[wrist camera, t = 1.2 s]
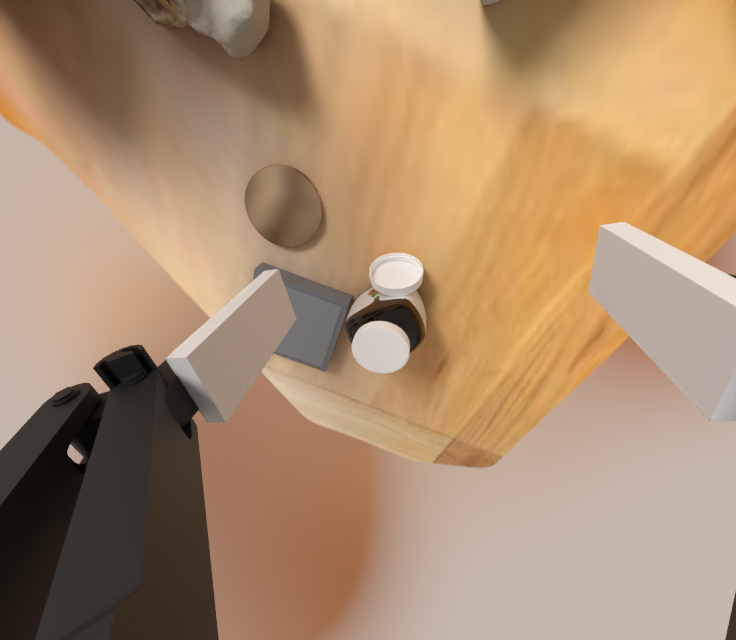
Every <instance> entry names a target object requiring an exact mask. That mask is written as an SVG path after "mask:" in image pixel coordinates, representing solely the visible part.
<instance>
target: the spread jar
mask: <svg viewBox="0 0 736 640" xmlns="http://www.w3.org/2000/svg"><path fill="white" fill-rule="evenodd" d="M369 276H370V283H371V285H372V287H371V288H370V289H368V290H367V291H365V292H364V293H363V294H362V295H360V296H359V297H358V298H357V300H356V301H355V302H354V304H353V305H352V307H351V309H350V312H349V314H348V317H347V320H346V332H347V335H348V338H349V340H350V342H351V344H352V354H353V356H354V358H355V360H356V361H357V362H358V363H359V364H360V365H361V366H362V367H363V368H365V369H367V370H369V371H371V372H375V373H381V374H385V373H392V372H395V371H398V370H399V369H401V368H402V367H403V366H404V365H405V364H406V363H407V361H408V359H409V354H410V353H411V352H412V351H414V350H415V349H416V348H417V347H418V346H419V345H420V344H421V343H422V341H423V339H424V337H425V333H426V313H425V308H424V305H423V302H422V300H421V298H420V296H419V294H418V292H417V291H416V290H417V289H418V288H419V287H420V285H421V284H422V281H423V265H422V264H421V262H420V261H419V260H418V259H417V258H416V257H414V256H412V255H409V254H406V253H389V254H385V255H382V256H380V257H378V258H377V259H376V260H374V261H373V263H372V264H371V266H370V269H369Z"/></svg>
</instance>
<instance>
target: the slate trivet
mask: <svg viewBox="0 0 736 640" xmlns="http://www.w3.org/2000/svg"><path fill="white" fill-rule="evenodd" d="M275 269H279V268H276V267H273V266H270V265H268V264H265V263H261V264H260V265H259V266H258V267H257V268H255V270H254V278H253V280H254V279H256V278H257V277H258V276H259V275H260V274H261V273H262V272H263V271H267V270H275ZM279 271H280V274H281V277H282V280H283V283H284V285H285V288H286V291H287V294H288V296H289V299H290V302H291V305H292V307H293V310H294V313H295V316H296V318H297V319H296V321H295V322H294V324H293V325H292V327H291V328H290V330H289V331H288V332H287V334H286V335H285V337H284V338H283V340H282V341H281V343H280V344H279V346H278V347H277V348H276V350H275V351H274V353H275V354H277V355H280V356H283V357H286V358H289V359H291V360H294V361H297V362H300V363H302V364H305V365H308V366H311V367H314V368H316V369H319V370H322V371H325V372H326V370H327V368H328V365H329V363H330V360H331V357H332V354H333V351H334V348H335V345H336V342H337V339H338V336H339V334H340V331H341V328H342V325H343V322H344V319H345V316H346V313H347V310H348V307H349V304H350V301H351V299H352V296H351V295H349V294H346V293H343V292H341V291H338V290H335V289H333V288H330V287H327V286H324V285H322V284H319V283H316V282H314V281H311V280H308V279H306V278H303V277H300V276H297V275H295V274H292V273H289V272H287V271H284V270H281V269H279Z"/></svg>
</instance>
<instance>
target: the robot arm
mask: <svg viewBox="0 0 736 640" xmlns="http://www.w3.org/2000/svg"><path fill="white" fill-rule="evenodd" d="M589 293H590V295H591V296H592V297H593V298H594V299H595V300H596V301H597V302H598V303H599V304H600V305H601V306H602V307H603V308H604V309H605V311H606V312H607V313H608V314H609V315H610V316H611V317H612V318H613V319H614V320H615V321H616V322H617V323H618V324H619V325H620V327H621V328H622V329H623V330H624V331H625V332H626V333H627V334H628V335H629V336H630V337H631V338H632V339H633V340H634V341H635V342H636V343H637V345H638V346H639V347H640V348H641V349H642V350H643V351H644V352H645V353H646V354H647V355H648V356H649V357H650V358H651V359H652V360H653V362H654V363H655V364H656V365H657V366H658V367H659V368H660V369H661V370H662V371H663V372H664V373H665V374H666V376H667V377H668V378H669V379H670V380H671V381H672V382H673V383H674V384H675V385H676V386H677V387H678V388H679V389H680V390H681V392H683V394H684V395H685V396H686V397H687V398H688V399H689V400H690V401H691V402H692V403H693V404H694V405H695V406H696V408H698V410H699V411H700V412H701V413H702V414H703V415H704V416H705V417H706V418H707V419H708V420H709V421H736V276H735V275H730V274H726V273H724V272H722V271H720V270H718V269H716V268H714V267H712V266H710V265H708V264H706V263H704V262H702V261H700V260H698V259H696V258H694V257H692V256H690V255H688V254H686V253H684V252H682V251H680V250H679V249H677V248H675V247H673V246H671V245H669V244H667V243H665V242H663V241H661V240H659V239H657V238H655V237H653V236H651V235H649V234H647V233H645V232H643V231H641V230H639V229H637V228H635V227H633V226H631V225H629V224H627V223H625V222H621V223H614V224H606V225H600V228H599V234H598V240H597V246H596V252H595V257H594V263H593V269H592V275H591V281H590V287H589ZM296 319H297V318H296V316H295V313H294V310H293V307H292V305H291V302H290V299H289V296H288V294H287V291H286V288H285V285H284V283H283V280H282V277H281V274H280V271H279V269H275V270H267V271H263V272H262V273H261V274H260V275H259V276H258V277H257V278H256V279H254V280H253V281H252V282H251V283H250V284H249V285H248V286H247V287H245V288H244V289H243V290H242V291H241V292H240V293H239V294H237V295H236V296H235V297H234V298H233V299H232V300H231V301H230V302H228V303H227V304H226V305H225V306H224V307H223V308H222V309H221V310H219V311H218V312H217V313H216V314H215V315H214V316H213V317H211V318H210V319H209V320H208V321H207V322H206V323H205V324H204V325H202V326H201V327H200V328H199V329H198V330H197V331H196V332H195V333H193V334H192V335H191V336H190V337H189V338H188V339H187V340H186V341H184V342H183V343H182V344H181V345H180V346H179V347H178V348H176V349H175V350H174V351H173V352H172V353H171V354H170V355H169V356H167V357H166V358H165V359H166V360H165V361H164V362H163V363H162V364H161V365H160V366H158V367H157V366H156V365H155V363H154V362H153V360H152V359H151V357H150V356H149V355H148V353H147V352H146V350H145V349H144V347H143V346H142V345H133V346H128V347H126V348H122V349H120V350H118V351H115V352H113V353H111V354H110V355H108V356H106V357H104V358H103V359H102V360H100V361H99V362H98V363H97V364H96V365H95V366H94V368H93V369H94V370H95V371H96V372H97V374H98V375H99V376H100V377H101V378H102V380H103V381H104V382H105V383H106V385H107V386H108V387H109V388H110V391H109V392H105V393H101V394H98V393H97V392H96V390H95V389H94V388H93V387H92V386H91V385H90V384H89V383H82V384H78V385H75V386H72V387H67V388H65V389H63V390H61V391H59V392H57V393H56V394H55V395H54V396H53V397H52V398H50V399H49V400H47V401H46V402H45V403H44V404H43V405H42V406H41V407H40V408H39V409H38V410H37V411H36V413H35V414H34V415H33V416H32V417H31V418H30V419H29V420H28V421H27V422H26V423H25V424H24V426H23V427H22V428H21V429H20V430H19V431H18V432H17V433H16V434H15V435H14V436H13V437H12V439H11V440H10V441H9V442H8V443H7V444H6V445H5V446H4V447H3V448H2V449H1V451H0V640H219V639H218V630H217V620H216V610H215V601H214V590H213V580H212V571H211V561H210V551H209V542H208V531H207V521H206V511H205V501H204V491H203V482H202V472H201V462H200V452H199V442H198V432H197V426H196V424H195V422H194V421H193V419H192V417H193V416H194V415H195V413H196V412H197V411H198V410H199V411H200V413H201V414H202V416H203V417H204V419H205V420H206V422H226V421H227V420H228V419H229V417H230V416H231V414H232V413H233V411H234V410H235V408H236V407H237V405H238V404H239V402H240V401H241V400H242V398H243V397H244V395H245V394H246V392H247V391H248V389H249V388H250V386H251V385H252V383H253V382H254V380H255V379H256V378H257V376H258V375H259V373H260V372H261V370H262V369H263V367H264V366H265V365H266V363H267V362H268V360H269V359H270V357H271V356H272V354H273V353H274V351H275V350H276V348H277V347H278V346H279V344H280V343H281V341H282V340H283V338H284V337H285V335H286V334H287V332H288V331H289V330H290V328H291V327H292V325H293V324H294V322H295V321H296ZM70 444H71V445H72V446H73V447H74V448H75V449H76V450H77V451H78V452H79V453H80V454H81V455H82V456H83V459H82V461H81V462H80V464H77V463H75V462H74V461H73V460H72V459H71V458H70V457H69V456H68V455H67V450H68V447H69V445H70ZM725 640H736V593H735V598H734V602H733V607H732V612H731V616H730V621H729V626H728V630H727V635H726V639H725Z"/></svg>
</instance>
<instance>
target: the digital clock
mask: <svg viewBox="0 0 736 640" xmlns="http://www.w3.org/2000/svg"><path fill="white" fill-rule="evenodd" d="M499 1H500V0H481V2H482V3H483V4H484V5H488V4H493V3H497V2H499Z"/></svg>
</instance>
